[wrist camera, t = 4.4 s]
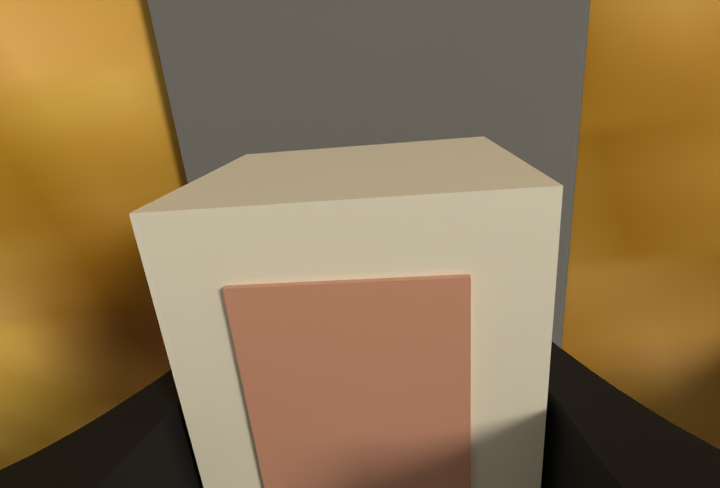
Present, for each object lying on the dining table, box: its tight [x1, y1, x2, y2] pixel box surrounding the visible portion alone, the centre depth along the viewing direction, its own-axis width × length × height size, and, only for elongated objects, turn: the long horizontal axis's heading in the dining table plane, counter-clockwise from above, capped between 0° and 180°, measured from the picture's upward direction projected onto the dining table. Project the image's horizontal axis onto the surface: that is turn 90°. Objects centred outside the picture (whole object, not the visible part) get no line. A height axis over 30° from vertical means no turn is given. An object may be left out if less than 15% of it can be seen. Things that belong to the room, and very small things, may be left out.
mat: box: [147, 0, 590, 348], centre depth 18 cm, size 13×34×1 cm, turn 5°
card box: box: [129, 136, 563, 488], centre depth 9 cm, size 9×5×5 cm, turn 5°
